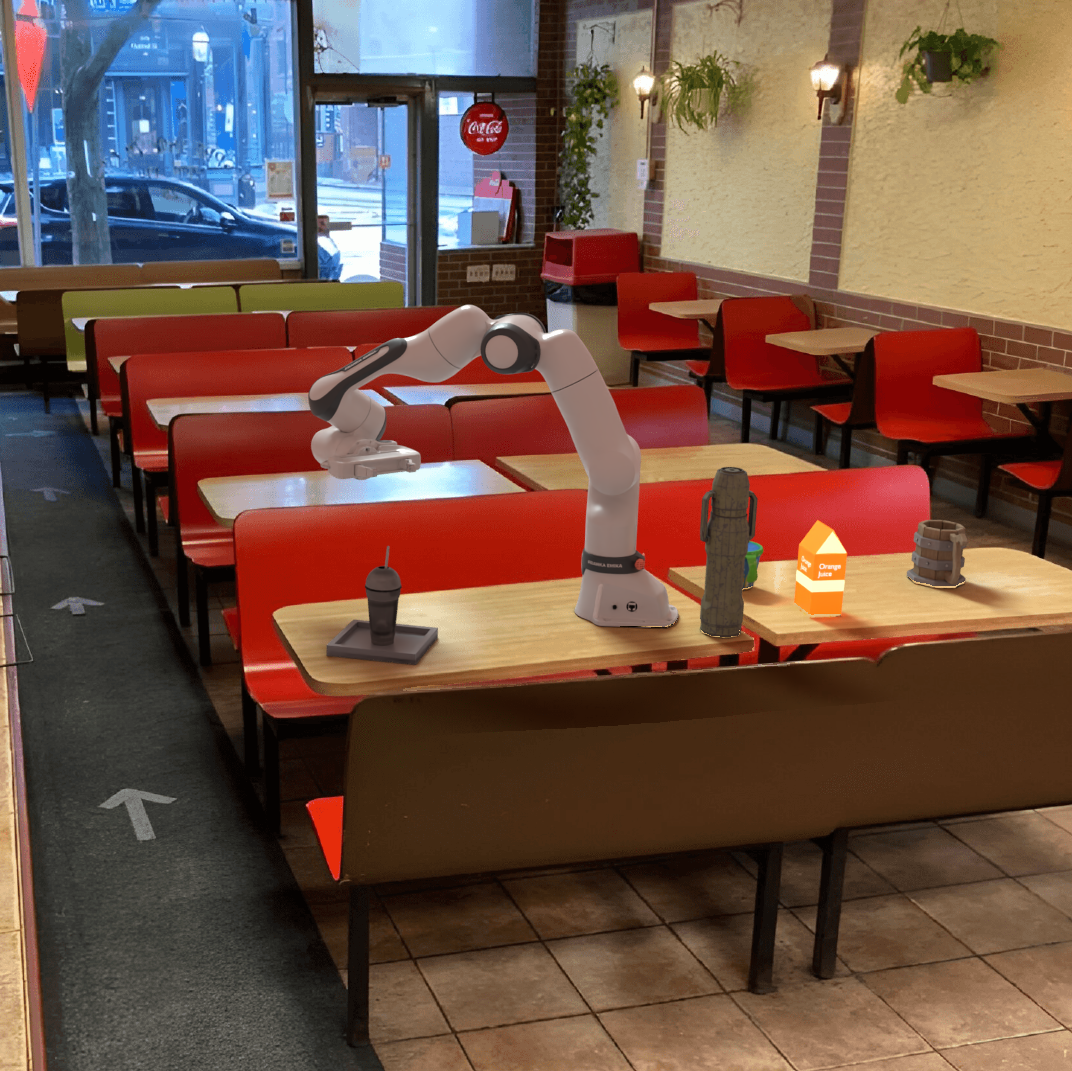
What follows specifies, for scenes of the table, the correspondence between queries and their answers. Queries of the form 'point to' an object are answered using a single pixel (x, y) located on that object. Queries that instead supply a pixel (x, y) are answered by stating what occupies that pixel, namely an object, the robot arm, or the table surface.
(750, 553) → the snack cup
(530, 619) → the table surface
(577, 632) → the table surface
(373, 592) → the beverage cup
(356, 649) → the tray
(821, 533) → the orange juice
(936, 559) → the tankard
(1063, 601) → the table surface
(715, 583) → the thermos
